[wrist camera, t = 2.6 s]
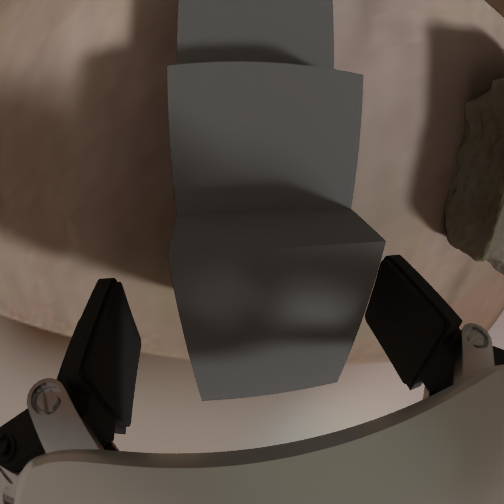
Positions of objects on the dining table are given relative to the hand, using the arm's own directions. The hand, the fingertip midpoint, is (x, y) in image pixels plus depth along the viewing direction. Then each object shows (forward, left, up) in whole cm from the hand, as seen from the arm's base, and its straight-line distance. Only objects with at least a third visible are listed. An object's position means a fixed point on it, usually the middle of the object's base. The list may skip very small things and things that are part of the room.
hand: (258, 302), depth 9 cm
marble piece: (-4, +19, -4) cm, 20 cm away
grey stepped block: (-4, 0, -4) cm, 6 cm away
